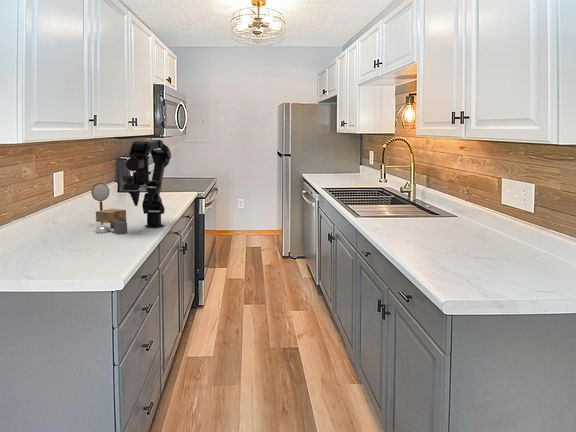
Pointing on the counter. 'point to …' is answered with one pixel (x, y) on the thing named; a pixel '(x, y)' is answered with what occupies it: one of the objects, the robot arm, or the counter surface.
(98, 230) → the steel puck
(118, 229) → the spatula tool
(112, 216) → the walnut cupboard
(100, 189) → the magnifying glass
